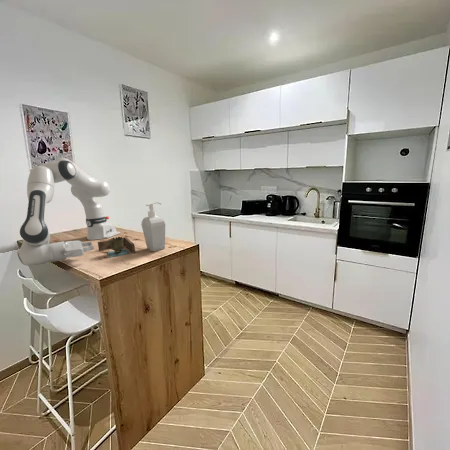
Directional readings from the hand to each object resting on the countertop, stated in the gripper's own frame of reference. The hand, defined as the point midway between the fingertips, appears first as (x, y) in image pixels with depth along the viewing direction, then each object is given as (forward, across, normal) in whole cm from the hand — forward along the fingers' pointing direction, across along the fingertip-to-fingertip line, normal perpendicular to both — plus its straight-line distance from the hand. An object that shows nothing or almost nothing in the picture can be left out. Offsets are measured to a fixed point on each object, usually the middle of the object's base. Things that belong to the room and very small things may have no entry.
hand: (92, 245), depth 131 cm
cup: (+12, 0, +7) cm, 13 cm away
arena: (+12, +4, +7) cm, 14 cm away
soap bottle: (+32, -6, +7) cm, 33 cm away
